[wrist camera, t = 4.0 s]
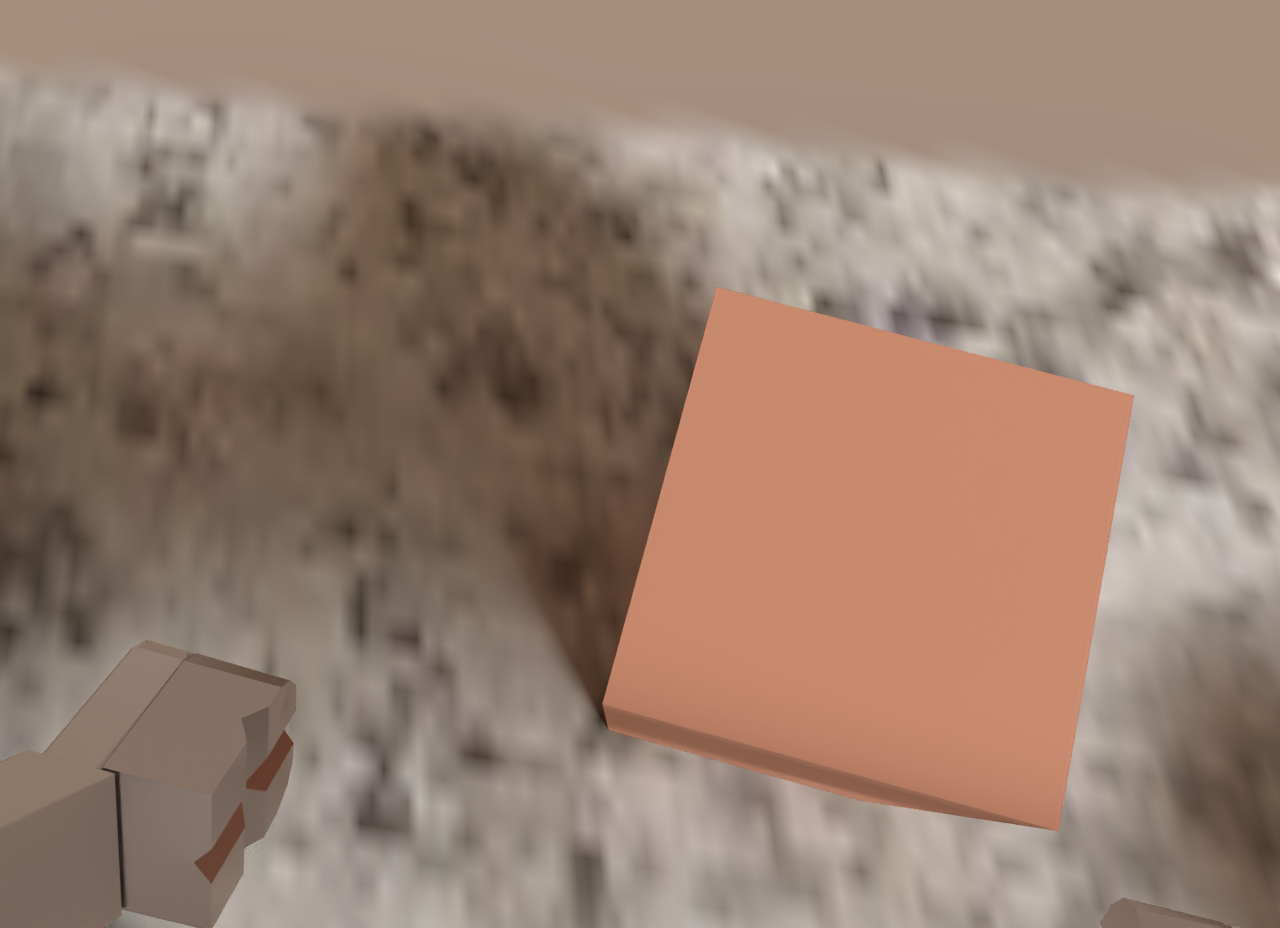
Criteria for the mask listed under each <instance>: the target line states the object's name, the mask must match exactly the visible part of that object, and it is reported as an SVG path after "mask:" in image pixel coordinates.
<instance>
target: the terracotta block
mask: <svg viewBox="0 0 1280 928" xmlns="http://www.w3.org/2000/svg"><path fill="white" fill-rule="evenodd" d="M1133 399H1134V395H1130V394H1126V393H1122V392H1118V391H1114V390H1111V389H1107V388H1103V387H1099V386H1095V385H1091V384H1088V383H1084V382H1080V381H1076V380H1072V379H1068V378H1064V377H1061V376H1057V375H1053V374H1049V373H1045V372H1041V371H1038V370H1034V369H1030V368H1026V367H1022V366H1018V365H1015V364H1011V363H1007V362H1003V361H999V360H995V359H991V358H988V357H984V356H980V355H976V354H972V353H968V352H965V351H961V350H957V349H953V348H949V347H945V346H941V345H938V344H934V343H930V342H926V341H922V340H918V339H915V338H911V337H907V336H903V335H899V334H895V333H891V332H888V331H884V330H880V329H876V328H872V327H868V326H865V325H861V324H857V323H853V322H849V321H845V320H841V319H838V318H834V317H830V316H826V315H822V314H818V313H815V312H811V311H807V310H803V309H799V308H795V307H792V306H788V305H784V304H780V303H776V302H772V301H768V300H765V299H761V298H757V297H753V296H749V295H745V294H742V293H738V292H734V291H730V290H726V289H722V288H718V287H717V288H716V292H715V296H714V299H713V303H712V307H711V310H710V314H709V318H708V321H707V325H706V329H705V332H704V336H703V339H702V343H701V347H700V350H699V354H698V358H697V361H696V365H695V369H694V372H693V376H692V380H691V383H690V387H689V390H688V394H687V398H686V401H685V405H684V409H683V412H682V416H681V420H680V423H679V427H678V431H677V434H676V438H675V441H674V445H673V449H672V452H671V456H670V460H669V463H668V467H667V471H666V474H665V478H664V482H663V485H662V489H661V492H660V496H659V500H658V503H657V507H656V511H655V514H654V518H653V522H652V525H651V529H650V533H649V536H648V540H647V543H646V547H645V551H644V554H643V558H642V562H641V565H640V569H639V573H638V576H637V580H636V584H635V587H634V591H633V594H632V598H631V602H630V605H629V609H628V613H627V616H626V620H625V624H624V627H623V631H622V635H621V638H620V642H619V645H618V649H617V653H616V656H615V660H614V664H613V667H612V671H611V675H610V678H609V682H608V686H607V689H606V693H605V696H604V700H603V708H604V713H605V717H606V721H607V725H608V730H610V731H614V732H617V733H621V734H624V735H628V736H632V737H635V738H639V739H642V740H646V741H649V742H653V743H657V744H660V745H664V746H667V747H671V748H675V749H678V750H682V751H685V752H689V753H692V754H696V755H700V756H703V757H707V758H710V759H714V760H717V761H721V762H725V763H728V764H732V765H735V766H739V767H742V768H746V769H750V770H753V771H757V772H760V773H764V774H768V775H771V776H775V777H778V778H782V779H785V780H789V781H793V782H796V783H800V784H803V785H807V786H810V787H814V788H818V789H821V790H825V791H828V792H832V793H835V794H839V795H843V796H846V797H850V798H853V799H857V800H861V801H866V802H872V803H879V804H885V805H892V806H899V807H905V808H912V809H918V810H925V811H931V812H938V813H944V814H951V815H957V816H964V817H971V818H977V819H984V820H990V821H997V822H1003V823H1010V824H1016V825H1023V826H1030V827H1036V828H1043V829H1049V830H1056V831H1059V825H1060V819H1061V813H1062V808H1063V802H1064V796H1065V790H1066V785H1067V779H1068V773H1069V767H1070V762H1071V756H1072V750H1073V744H1074V738H1075V733H1076V727H1077V721H1078V715H1079V710H1080V704H1081V698H1082V692H1083V687H1084V681H1085V675H1086V669H1087V664H1088V658H1089V652H1090V646H1091V641H1092V635H1093V629H1094V623H1095V618H1096V612H1097V606H1098V600H1099V595H1100V589H1101V583H1102V577H1103V572H1104V566H1105V560H1106V554H1107V549H1108V543H1109V537H1110V531H1111V526H1112V520H1113V514H1114V508H1115V502H1116V497H1117V491H1118V485H1119V479H1120V474H1121V468H1122V462H1123V456H1124V451H1125V445H1126V439H1127V433H1128V428H1129V422H1130V416H1131V410H1132V405H1133Z"/></svg>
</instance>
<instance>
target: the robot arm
mask: <svg viewBox="0 0 1280 928" xmlns="http://www.w3.org/2000/svg"><path fill="white" fill-rule="evenodd" d="M295 710H296V685H295V684H294V683H293V682H291V681H290V680H287V679H283V678H280V677H276V676H273V675H269V674H266V673H262V672H259V671H256V670H252V669H249V668H245V667H242V666H238V665H235V664H231V663H228V662H224V661H221V660H217V659H214V658H211V657H207V656H204V655H200V654H197V653H195V654H193V653H190V652H186V651H183V650H179V649H176V648H172V647H169V646H165V645H162V644H159V643H155V642H152V641H148V640H146V641H144V642H142V643H141V644H139V645H137V646H135V647H134V648H132V649H131V650H130V651H129V652H128V653H127V655H126V656H125V657H124V658H123V659H122V660H121V662H120V663H119V664H118V665H117V666H116V668H115V669H114V670H113V671H112V672H111V674H110V675H109V676H108V677H107V678H106V679H105V681H104V682H103V683H102V684H101V685H100V687H99V688H98V689H97V690H96V691H95V692H94V694H93V695H92V696H91V697H90V698H89V700H88V701H87V702H86V703H85V704H84V705H83V707H82V708H81V709H80V710H79V711H78V713H77V714H76V715H75V716H74V717H73V718H72V720H71V721H70V722H69V723H68V724H67V726H66V727H65V728H64V729H63V730H62V732H61V733H60V734H59V735H58V736H57V737H56V739H55V740H54V741H53V742H52V743H51V745H50V746H49V747H48V748H47V749H46V750H45V752H44V753H43V754H41V753H37V752H33V751H28V750H27V751H25V752H22V753H20V754H18V755H15V756H13V757H11V758H8V759H6V760H4V761H1V762H0V928H104V927H105V926H107V925H108V924H110V923H111V922H113V921H114V920H116V919H117V918H119V917H120V916H121V915H122V910H126V911H130V912H134V913H138V914H142V915H146V916H151V917H155V918H159V919H163V920H167V921H172V922H176V923H180V924H184V925H188V926H192V927H197V928H213V926H214V924H215V923H216V921H217V919H218V917H219V915H220V914H221V912H222V910H223V908H224V907H225V905H226V903H227V901H228V900H229V898H230V896H231V894H232V893H233V891H234V889H235V887H236V886H237V884H238V882H239V880H240V879H241V877H242V875H243V866H244V848H245V847H247V846H248V845H250V844H252V843H254V842H256V841H258V840H259V839H261V838H263V837H264V836H265V834H266V832H267V830H268V828H269V827H270V825H271V823H272V821H273V819H274V817H275V815H276V814H277V811H278V808H279V806H280V803H281V800H282V798H283V795H284V792H285V790H286V787H287V784H288V780H289V775H290V770H291V766H292V759H293V745H294V743H293V742H292V740H291V739H290V738H289V736H288V735H287V733H286V732H285V730H284V729H285V727H286V726H287V724H288V722H289V721H290V719H291V717H292V716H293V714H294V712H295ZM1101 926H1102V928H1241V927H1238V926H1234V925H1225V924H1223V923H1221V922H1218V921H1214V920H1210V919H1206V918H1202V917H1198V916H1194V915H1190V914H1186V913H1182V912H1178V911H1174V910H1170V909H1166V908H1162V907H1158V906H1154V905H1150V904H1146V903H1142V902H1138V901H1134V900H1130V899H1126V898H1122V899H1120V900H1119V901H1117V902H1116V903H1114V904H1112V905H1111V907H1110V908H1109V910H1108V911H1107V913H1106V914H1105V916H1104V917H1103V919H1102V921H1101Z"/></svg>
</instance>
